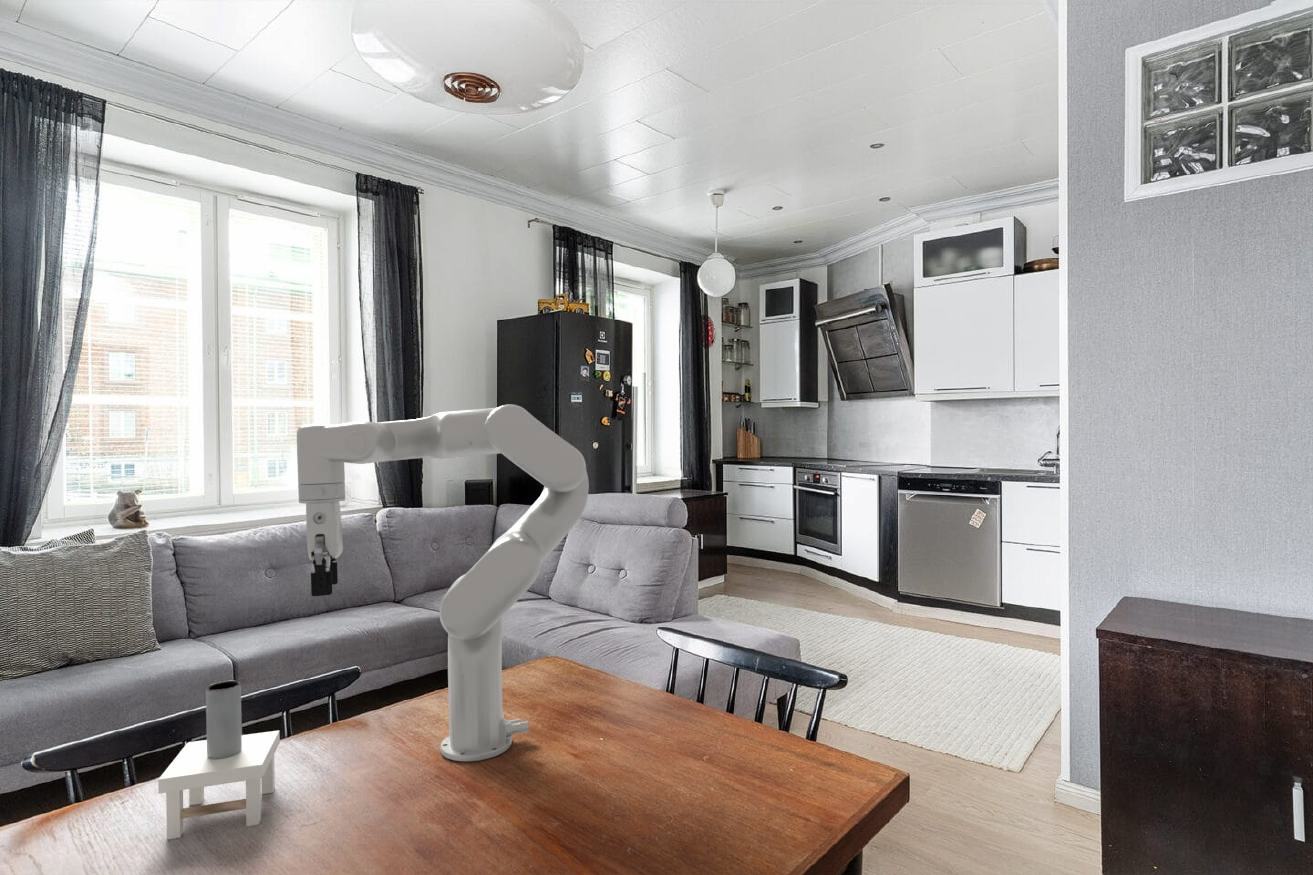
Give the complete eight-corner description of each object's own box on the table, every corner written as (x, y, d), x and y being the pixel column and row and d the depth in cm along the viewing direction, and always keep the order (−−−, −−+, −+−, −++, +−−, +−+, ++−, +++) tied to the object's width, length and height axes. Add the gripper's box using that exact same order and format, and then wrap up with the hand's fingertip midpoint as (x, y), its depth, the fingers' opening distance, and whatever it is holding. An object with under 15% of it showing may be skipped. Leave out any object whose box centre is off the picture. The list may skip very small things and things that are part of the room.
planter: (225, 760, 105) (224, 691, 105) (199, 758, 106) (198, 689, 106) (248, 747, 110) (247, 680, 110) (223, 745, 110) (222, 679, 111)
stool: (280, 785, 116) (279, 730, 116) (263, 825, 104) (262, 764, 104) (188, 799, 112) (187, 742, 112) (159, 843, 100) (158, 779, 100)
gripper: (340, 495, 119) (344, 597, 119) (349, 489, 135) (351, 579, 135) (290, 498, 116) (294, 602, 116) (305, 491, 132) (308, 583, 132)
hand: (325, 589), depth 125 cm, fingers open, 9 cm apart
